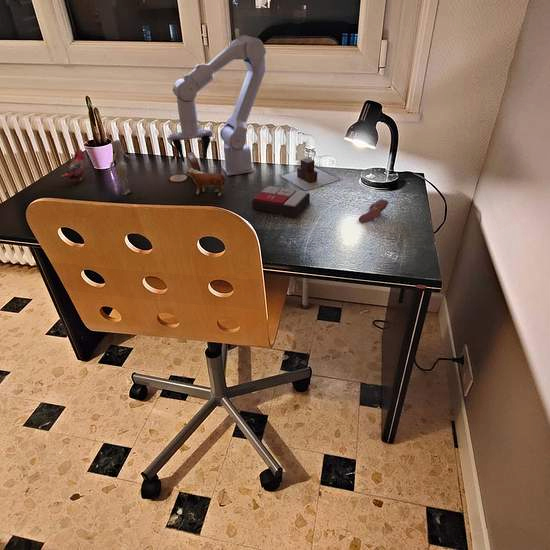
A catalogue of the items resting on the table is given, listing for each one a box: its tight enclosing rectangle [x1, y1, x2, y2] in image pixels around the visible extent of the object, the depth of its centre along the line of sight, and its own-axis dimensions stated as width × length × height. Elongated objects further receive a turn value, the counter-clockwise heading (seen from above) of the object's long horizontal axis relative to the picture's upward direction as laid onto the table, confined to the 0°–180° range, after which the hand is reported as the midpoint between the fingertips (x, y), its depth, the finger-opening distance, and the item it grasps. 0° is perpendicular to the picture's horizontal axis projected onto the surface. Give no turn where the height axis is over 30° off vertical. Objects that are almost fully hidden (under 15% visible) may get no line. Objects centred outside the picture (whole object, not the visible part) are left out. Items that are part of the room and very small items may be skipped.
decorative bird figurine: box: [59, 148, 86, 184], centre depth 145 cm, size 3×18×10 cm, turn 174°
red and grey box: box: [251, 185, 311, 219], centre depth 131 cm, size 11×4×15 cm
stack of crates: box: [280, 157, 340, 191], centre depth 147 cm, size 15×15×7 cm
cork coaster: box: [169, 174, 188, 183], centre depth 150 cm, size 6×6×1 cm
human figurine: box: [107, 139, 136, 196], centre depth 135 cm, size 12×4×18 cm, turn 155°
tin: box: [185, 151, 202, 172], centre depth 147 cm, size 15×3×8 cm, turn 19°
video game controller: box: [358, 198, 389, 224], centre depth 123 cm, size 10×5×7 cm, turn 148°
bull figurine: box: [186, 168, 226, 197], centre depth 138 cm, size 4×13×8 cm, turn 73°
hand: (194, 159), depth 146 cm, fingers open, 7 cm apart
